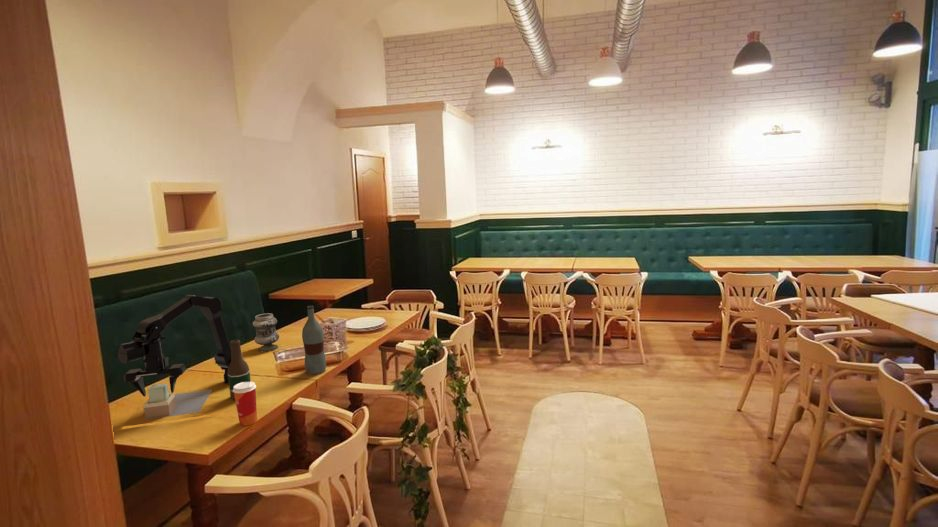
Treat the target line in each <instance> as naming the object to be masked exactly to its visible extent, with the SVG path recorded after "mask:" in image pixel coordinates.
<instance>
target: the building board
mask: <svg viewBox="0 0 938 527" xmlns="http://www.w3.org/2000/svg"><path fill="white" fill-rule="evenodd" d="M213 390H214V389H205V390H198V391H197V390H196V391H188V392H181V393H175V392H173V393H169V398H168V400H167V401H164V402H156V403H150V402H149V398H148V399H147V400H146V401H145V403H144V404H143V411H144V420H145V421H146V420H152V419H159V418H160V419H161V418H167V417H175V416H181V415H189V414H195V413H196V414H197V413H200V411H201V410H202V408H203V406H204V405H205V403H206V401H207V400H208V398H209V397H210V395H211V393H212V392H213Z"/></svg>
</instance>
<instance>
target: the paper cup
mask: <svg viewBox="0 0 938 527" xmlns="http://www.w3.org/2000/svg"><path fill="white" fill-rule="evenodd" d="M256 388H257V385H256V383H255V382H254V381H250V382H241V383H238V384H236V385H235V386H234V387H233V392H234V396H235V406H236V411H237V412H236V413H237V418H238V421H239V425H240V426H241V427H248V426H252V425H254V424H256V423H257V421H258V416H257V396H256V392H257V391H256Z"/></svg>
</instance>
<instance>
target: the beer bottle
mask: <svg viewBox="0 0 938 527" xmlns="http://www.w3.org/2000/svg"><path fill="white" fill-rule="evenodd" d="M229 345H230V347H231V363H230V364H229V367H228V380H229V383H228V388H229V394H230V399H231V400H233V401H235V396H234V392H233V387H234V386H235V385H236V384H238V383H241V382H250V381H251V374H250V368H249V364H248V363H247V361H246V360H245V359H244V358H243V353H242V346H241V341H240V339H233V340H230V342H229ZM251 382H252V381H251Z"/></svg>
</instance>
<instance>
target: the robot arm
mask: <svg viewBox="0 0 938 527" xmlns="http://www.w3.org/2000/svg"><path fill="white" fill-rule="evenodd" d="M193 307H197V308H199V310H200V313H201V314H202V315H203V316H204V317H205V318H206V319H207V321H208V324H209V328H210V330H211V334H212V336H213V339H214V343H215V346H216V350H217V351H216V354H214V355H213V358H214V361H215V362H214V363H215V365H217V366H218V367H220V369H221V371H224V373H223V381H224V384H229V380H228V367H229V364H230V363H231V345H230V342H229V338H228V335H227V332H226V330H225V329H226V328H225V325H224V322H223V319H222V313H223V304H222V301H221V299H220V298H218V297H214V296H213V297H212V296H203V297H202V296H197V295H193V294H187V295H185V296H183V298H181V299H180V300H178V301H177V302H175V303H174V304H172V305H171V306H169V307H168V308H167V309H165V310H163V311H162V312H160V313H159V314H157V315H153V316H150V317H148V318H144V319H143V320H141V321H140V322H139V323H137V325H136V330H135V332H134V333H133V335H132V337H131V340H130V341H129V342H126V343H120V344H119V348H118V352H117V357H118V360H119V362H121V363H122V364H127V363H130V362H133V361H137V360H140V359H143V360H142V362H143V364H144V367H145V370H143V369H141V368H135V369H133V368H132V369H129V370H128V371H127V372H126V373H125V374H124V375H123V380H124V383H127V382H128V383H129V384H131V385H133V386H134V387H135V388H136V389H137V390H138V391H139V393H140V394H141V395H142V397H146V395H147V391H146V388H145V383H144V377H147V376H157V375H166V374H168V375H170V376H169V377H168V379H169V387H170V394H172V393H175V387H176V383H177V379H178V378H179V377H180V376H182V375H183V374H184V373H185V371H186V369H187V368H186V364H184V363H176V364H173V365H171V367H168V366H169V357H166V356H165V355H164V353H163V351H162V345H161V342H162V341H164V340H166V339H167V337H166V336H164V335H162V332H164V330H166V329H167V326H168V325H169V324H170V323H171V322H173V321H174V320H176V319H177V318H178V317H179V316H181V315H182V314H184V313H185V312H187V311H188V310H190V309H192V308H193Z"/></svg>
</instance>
